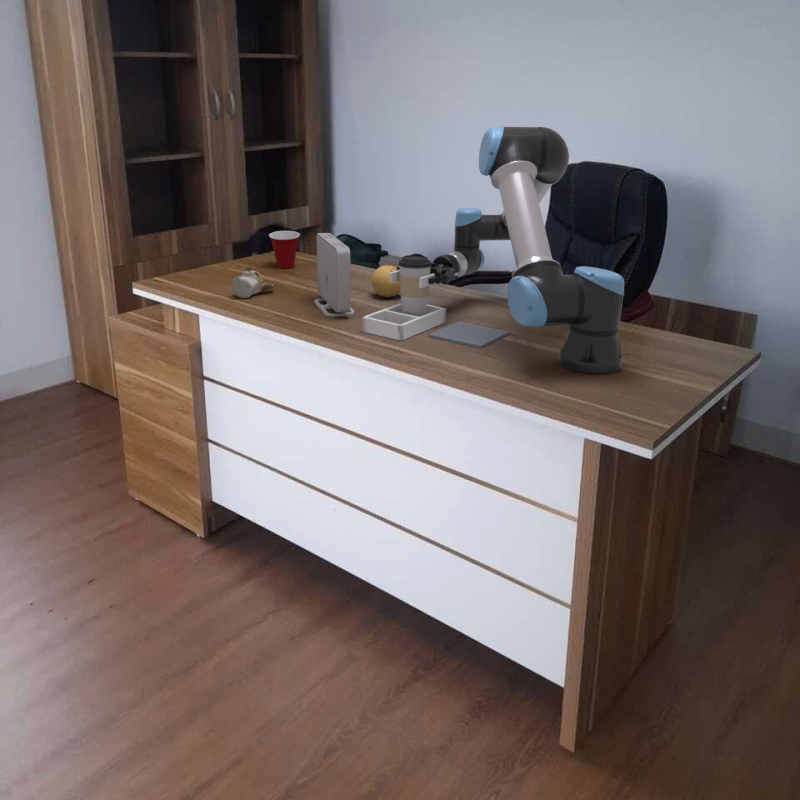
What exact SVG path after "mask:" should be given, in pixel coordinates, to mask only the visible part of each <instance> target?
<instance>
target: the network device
mask: <svg viewBox="0 0 800 800" xmlns="http://www.w3.org/2000/svg"><path fill="white" fill-rule="evenodd" d="M316 274H317V275H316V279H317V280H316V282H317V283H316V286H317V287H316V288H317V293H318V294H319V295H320V296H321V298H316V299H314V304H315V305H316V307H317V308H318V309H319V310H320V311H321V312H322V313H323V315H324V316H327V317H330V318H331V317H333V318H337V317H351V316H354V315H355V310H354V309H353V308H352V307H351V250H350V247H349V246H348V245H346V244H344V243H343V241H341V240H339V238H337V237H336V236H334V235H333V234H332V233H330V232H319V233H317V234H316ZM320 302H326V304H321V303H320ZM327 310H333V311H334V313H329V312H328V311H327ZM335 312H336V313H335Z"/></svg>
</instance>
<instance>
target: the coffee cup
mask: <svg viewBox="0 0 800 800" xmlns="http://www.w3.org/2000/svg"><path fill="white" fill-rule="evenodd" d="M431 263H432V261H431V260H430V259H429V258H428V256H426V255H423V254H422V253H412V254H410V255H409V254H407V255H403V257H401V259H399V260H398V264H397V265H398V267H399V270H400V273H399V280H400V293H399V295H400V303H401V308H402V310H403V311H405V312H411V313H419V312H424V311H426V307H427V305H428V297H429V292H430V286H427V287H424V288H419V278H420V277H424V276H427V275H430V269H431V266H432V265H431Z"/></svg>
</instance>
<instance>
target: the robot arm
mask: <svg viewBox="0 0 800 800" xmlns="http://www.w3.org/2000/svg"><path fill="white" fill-rule="evenodd" d="M481 139H482V140H481V143H480V146H479V153H478V170H479V172H480V174H481V175H482V176H485V177H488V176H489V178H490V182H491V185H492V186H493V188H495V189H497V190H499V194H500V199H501V203H502V208H503V211H502V213H501V214H483V213H482V209H479V207H461V208H459V209H457V210H456V212H455V213H456V214H455V219H454V220H455V221H454V247H453V251H452V252H449V253H446V254H442V255H439V256H436V257H435V258H434V259H433V261H432V262H431V265H432V266H431V269H430V275H427V276H424V277H420V278H419V288H424V287H427V286H429V287H431V286H432V285H434V284H435V285H439V284H440V283H441V284H442V285H444V286H445V285H447V284H449V283H450V282H452V281H454V280H456V279H458V278H460V277H463V276H467V275H471V274H474V273H475V272H478V271H479V270H481V269H482V268H483V267H484V264H485V261H486V260H485V255H484V252H483V251H482V250H481V248H480V245H481V241H482V242H483V241H485V242H486V241H510V244H511V248H512V252H513V258H514V262H515V267H516V268H515V270H514V272H513V273H512V278H511V279H510V280H509V282H508V285H507V288H506V289H507V290H506V294H507V296H508V297H507V299H506V300H507V305H508V308H509V311H510V314H511V315H512V318H513V320H515V322H517V323H518V324H520V325H521V326H523V327H535V328H540V327H547V326H549V327H550V326H562V325H563V326H564V325H565V326H566V325H567V326H569V327H568V332H567V335H566V337H565V339H564V342H563V345H562V348H561V349H560V350H559V354H558V363H559V364H560V365H561V366H562V367H564V368H566V369H568V370H572V371H574V372H579V373H585V374H592V375H593V374H595V375H597V374H598V375H601V374H603V375H604V374H611V373H615V372H618V371H620V370H621V369H622V367H623V360H624V359H623V353H622V348H621V343H620V338H619V332H620V324H621V323H620V322H621V315H622V308H623V299H624V296H625V278H624V277H623V276H622V275H620V273H616V272H615V271H611V270H608V269H604V268H600V267H599V268H598V267H593V266H586V265H585V266H584V265H583V266H582V265H581V266H576V267H575V268H574V269H575V270H574V271H573V273H574V274H564V273H563V269H562V266H561V264H560V262H558V260H555V259H554V258H553V257H552V252H551V248H550V243H549V239H548V235H547V231H546V226H545V223H544V219H543V215H542V210H541V206H540V203H541V201H543V199H544V197H545V196H546V194H547V193H548V192H549V190H550V188H551V187H552V185H554V184H556V183H559V181H560V180H561V179H562V178H563V176H564V175H565V173H566V171H567V169H568V167H569V163H570V161H569V160H570V151H569V148H568V146H567V143H566V141H565V139H564V138H563V137H562V136H561V135H560V133H558V132H557V131H556V130H554V129H552V128H550V127H545V126H535V127H534V126H504V125H502V126H494V127H492V126H491V127H489V128H488V129H487V130H486V131H485V132H484V133H483V137H482V138H481ZM396 268H397V271H394V272H391V273H390V281H389V282H390V283H393V282H396V281H400V280H399V273H400V270H399V266H397V267H396Z"/></svg>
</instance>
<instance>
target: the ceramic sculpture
mask: <svg viewBox="0 0 800 800" xmlns="http://www.w3.org/2000/svg"><path fill="white" fill-rule="evenodd" d="M276 285H277V284H276V283H268V282H265V280H264V277H263V276H262V274H261V273H260V272H259V271H255V270H253V269H252V268H251V267H249V268H246V269H245V270H243V272H242V273H241V275H240V276H236V277H235V278H234V279H233V281H232V282H231V286H232V287H231V288H232V291H233V294H234V295H235V296H236V297H237V298H241V299H248V298H250V297H251V296H253V295H257V294H259V293H261V292H262V293H263V292H265V293H266V292H270V291H271V290H273V289H274V288H275V287H276Z"/></svg>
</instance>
